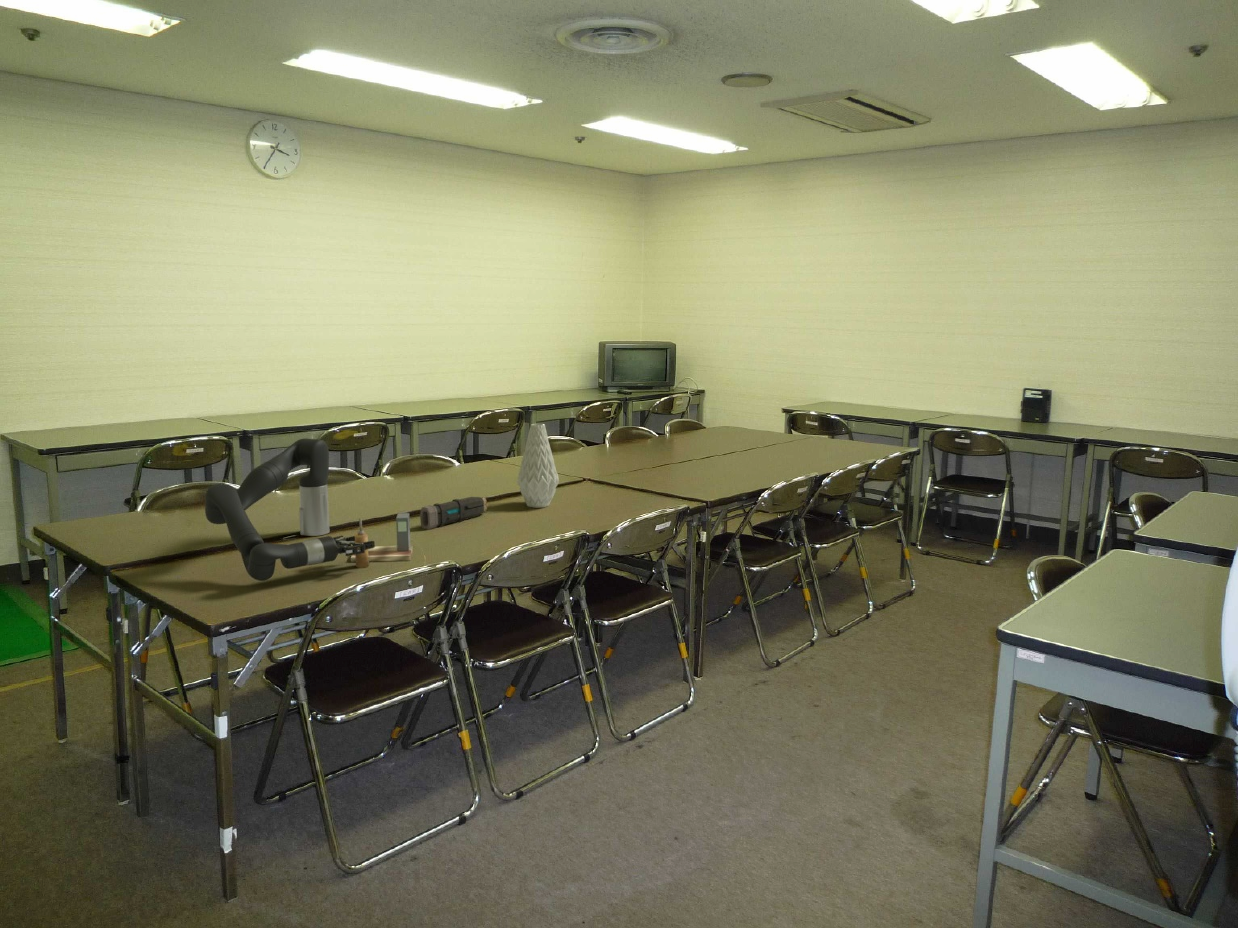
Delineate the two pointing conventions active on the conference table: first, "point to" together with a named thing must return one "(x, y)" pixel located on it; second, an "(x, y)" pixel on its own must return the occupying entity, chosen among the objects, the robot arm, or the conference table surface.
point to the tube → (451, 511)
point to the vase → (537, 469)
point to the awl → (363, 557)
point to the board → (386, 554)
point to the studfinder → (403, 531)
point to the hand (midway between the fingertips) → (366, 541)
